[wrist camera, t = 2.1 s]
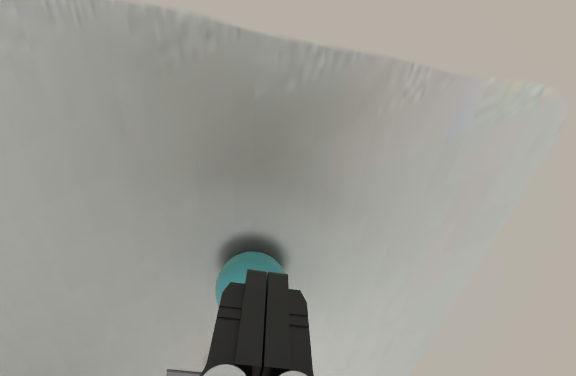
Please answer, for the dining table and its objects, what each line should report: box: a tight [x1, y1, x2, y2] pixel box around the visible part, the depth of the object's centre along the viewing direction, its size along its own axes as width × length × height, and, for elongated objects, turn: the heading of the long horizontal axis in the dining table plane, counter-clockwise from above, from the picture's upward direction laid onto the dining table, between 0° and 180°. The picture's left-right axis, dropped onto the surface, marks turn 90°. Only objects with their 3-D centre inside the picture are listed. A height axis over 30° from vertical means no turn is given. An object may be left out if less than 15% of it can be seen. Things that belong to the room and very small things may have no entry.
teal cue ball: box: [216, 251, 285, 305], centre depth 25 cm, size 6×6×6 cm
